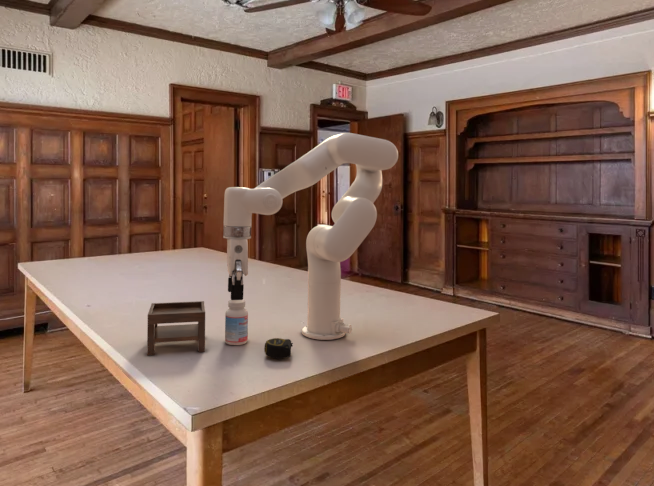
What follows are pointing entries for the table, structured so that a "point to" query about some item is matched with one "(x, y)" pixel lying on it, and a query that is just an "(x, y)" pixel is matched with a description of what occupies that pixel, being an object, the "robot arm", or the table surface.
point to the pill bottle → (236, 323)
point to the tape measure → (278, 348)
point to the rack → (176, 314)
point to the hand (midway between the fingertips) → (235, 295)
